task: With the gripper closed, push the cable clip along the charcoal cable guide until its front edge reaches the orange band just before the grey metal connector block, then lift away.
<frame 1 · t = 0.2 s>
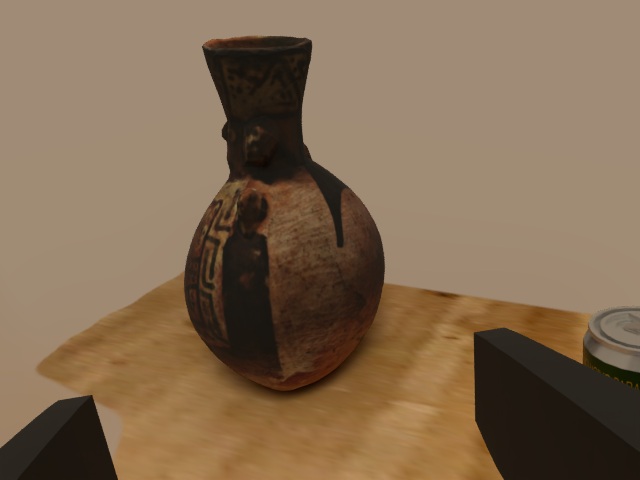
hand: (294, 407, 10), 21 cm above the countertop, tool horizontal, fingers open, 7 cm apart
ceramic vessel: (304, 366, 52), on the countertop
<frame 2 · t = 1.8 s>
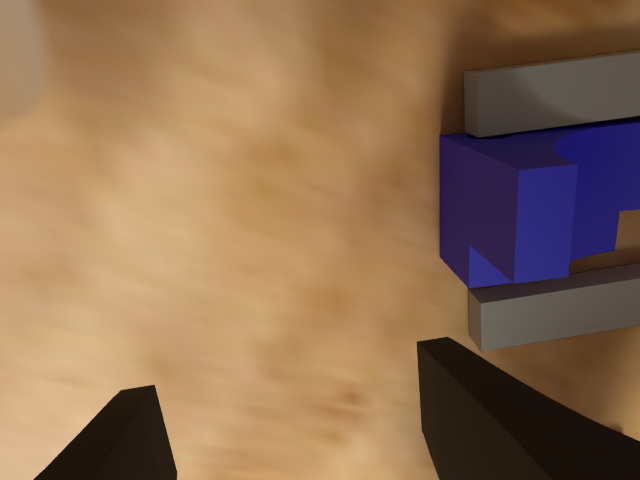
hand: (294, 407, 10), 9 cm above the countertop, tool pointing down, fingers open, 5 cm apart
cable clip: (592, 179, 20), resting in cable guide
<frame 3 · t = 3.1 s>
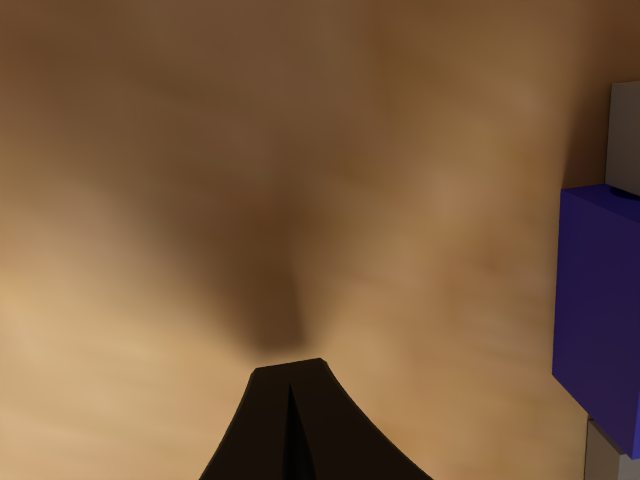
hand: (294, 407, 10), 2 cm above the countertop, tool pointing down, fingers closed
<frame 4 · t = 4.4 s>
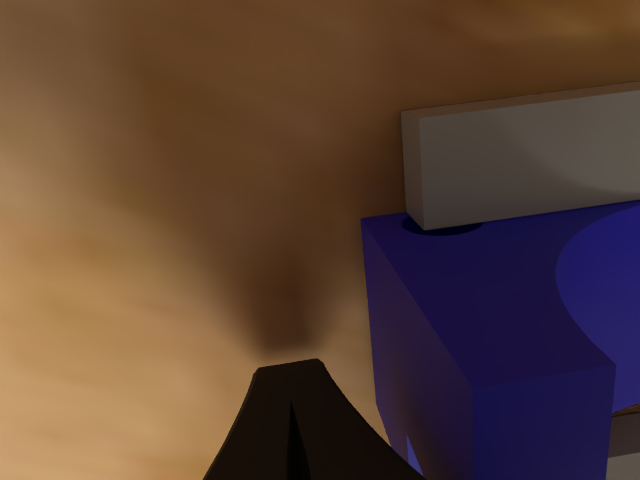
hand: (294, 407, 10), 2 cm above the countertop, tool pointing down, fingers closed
cable clip: (622, 271, 12), resting in cable guide, touching gripper
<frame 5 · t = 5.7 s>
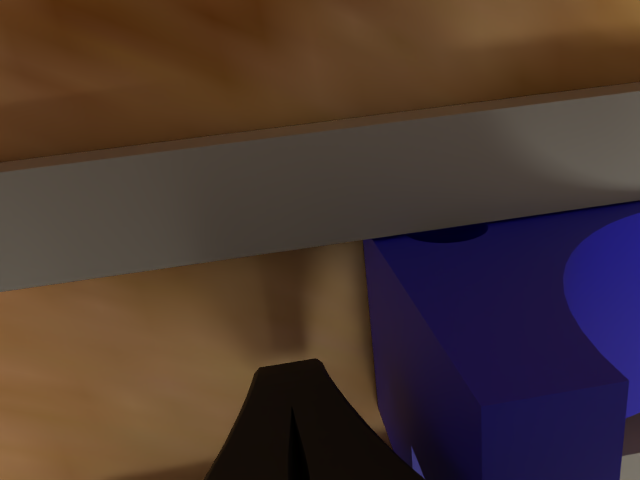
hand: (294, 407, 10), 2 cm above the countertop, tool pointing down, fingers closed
cable clip: (627, 275, 12), resting in cable guide, touching gripper
cable guide: (609, 311, 12), on the countertop
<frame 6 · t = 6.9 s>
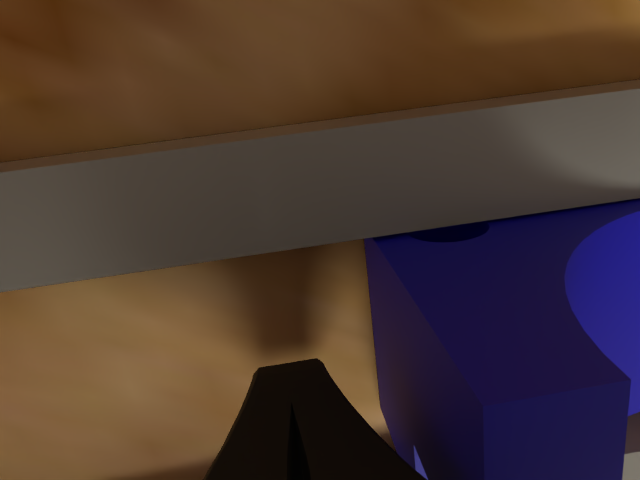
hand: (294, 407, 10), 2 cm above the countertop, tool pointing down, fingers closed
cable clip: (629, 273, 12), resting in cable guide, touching gripper
cable guide: (468, 332, 12), on the countertop
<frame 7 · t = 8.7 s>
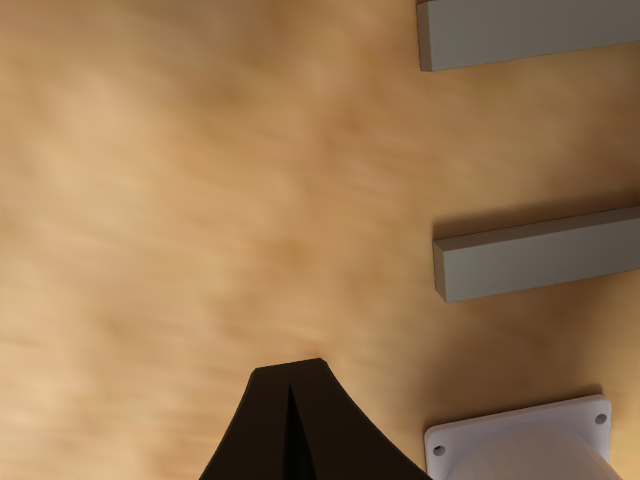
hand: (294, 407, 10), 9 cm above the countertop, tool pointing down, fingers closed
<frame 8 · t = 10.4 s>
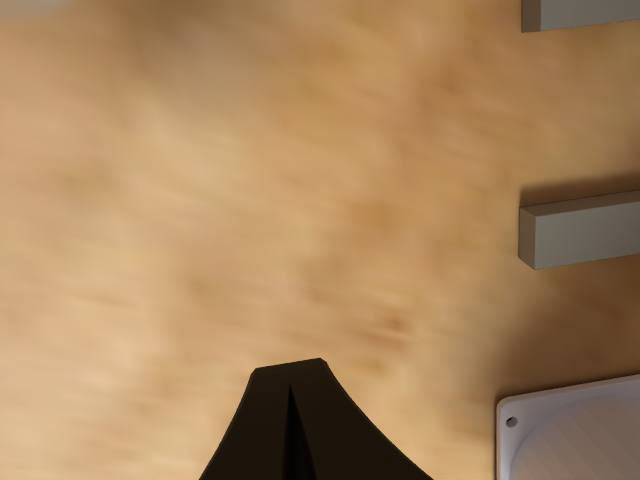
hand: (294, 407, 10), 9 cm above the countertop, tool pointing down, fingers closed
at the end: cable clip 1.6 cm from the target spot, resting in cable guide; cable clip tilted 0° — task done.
